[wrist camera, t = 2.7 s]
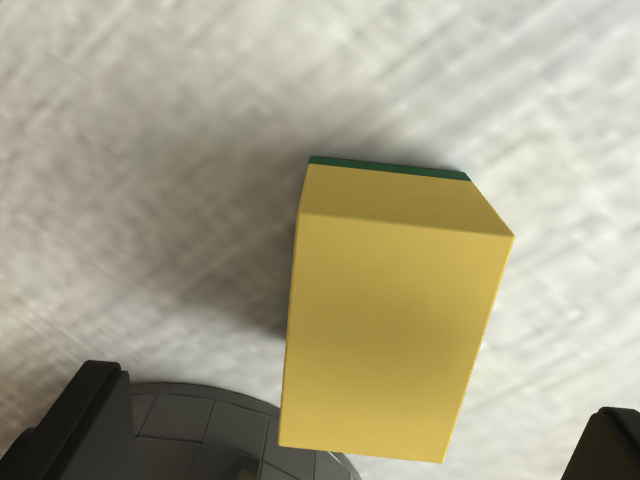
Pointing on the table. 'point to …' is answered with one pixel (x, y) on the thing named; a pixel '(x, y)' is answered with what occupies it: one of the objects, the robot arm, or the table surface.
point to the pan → (219, 438)
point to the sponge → (386, 307)
